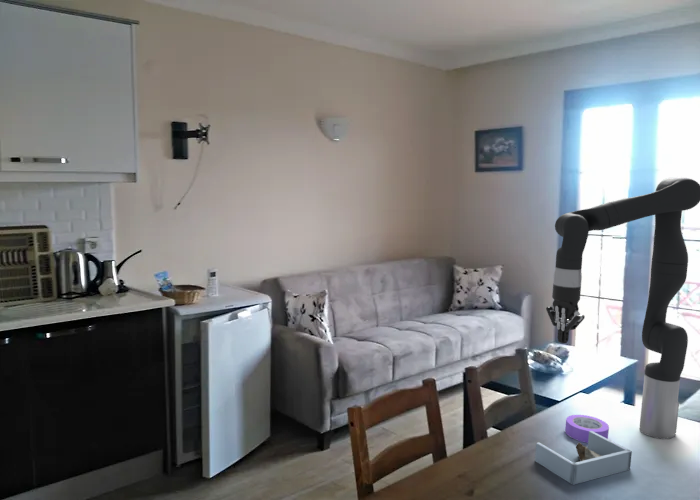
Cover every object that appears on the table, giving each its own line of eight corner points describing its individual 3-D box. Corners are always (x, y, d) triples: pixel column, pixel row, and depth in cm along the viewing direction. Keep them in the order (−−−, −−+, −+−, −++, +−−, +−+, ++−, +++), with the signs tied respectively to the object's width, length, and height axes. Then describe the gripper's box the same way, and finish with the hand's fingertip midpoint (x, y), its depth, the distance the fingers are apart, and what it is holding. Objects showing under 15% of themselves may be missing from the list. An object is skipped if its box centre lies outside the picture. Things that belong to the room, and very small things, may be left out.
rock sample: (623, 460, 149) (596, 432, 151) (602, 481, 147) (576, 453, 150) (608, 458, 158) (583, 433, 161) (588, 478, 157) (564, 452, 159)
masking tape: (612, 434, 173) (613, 422, 173) (601, 448, 164) (602, 435, 163) (572, 423, 180) (573, 411, 180) (559, 435, 171) (560, 423, 171)
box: (590, 447, 163) (591, 430, 163) (630, 469, 152) (631, 451, 151) (534, 460, 155) (536, 442, 154) (572, 484, 143) (574, 465, 142)
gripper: (595, 287, 164) (590, 347, 166) (559, 279, 175) (555, 335, 178) (575, 288, 160) (570, 350, 163) (540, 280, 172) (536, 337, 174)
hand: (562, 342), depth 170 cm, fingers closed
